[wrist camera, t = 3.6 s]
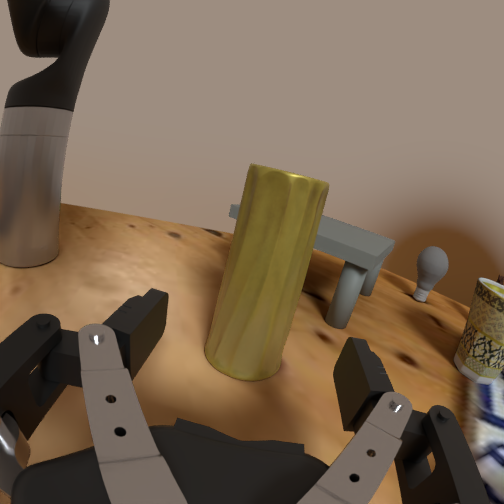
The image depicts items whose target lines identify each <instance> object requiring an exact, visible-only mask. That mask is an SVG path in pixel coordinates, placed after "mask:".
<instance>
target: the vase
mask: <svg viewBox="0 0 504 504" xmlns="http://www.w3.org/2000/svg"><path fill="white" fill-rule="evenodd" d="M328 190H329V183H327V182H324V181H320V180H317V179H314V178H310V177H306V176H302V175H299V174H295V173H291V172H287V171H282V170H278V169H274V168H270V167H266V166H261V165H256V164H250V166H249V170H248V174H247V178H246V182H245V187H244V191H243V196H242V200H241V204H240V208H239V212H238V217H237V221H236V226H235V231H234V234H233V239H232V243H231V247H230V251H229V255H228V259H227V263H226V267H225V271H224V275H223V279H222V283H221V287H220V291H219V295H218V299H217V303H216V308H215V312H214V316H213V320H212V325H211V330H210V334H209V337H208V339H207V342H206V345H205V355H206V357H207V359H208V361H209V362H210V363H211V365H212V366H213V367H214V368H216V369H217V370H218V371H220V372H222V373H223V374H225V375H228V376H230V377H232V378H235V379H239V380H245V381H258V380H263V379H266V378H268V377H270V376H272V375H274V374H275V373H276V372H277V371H278V369H279V368H280V364H281V358H282V352H283V349H284V345H285V343H286V340H287V337H288V334H289V331H290V328H291V324H292V320H293V317H294V313H295V310H296V307H297V304H298V300H299V297H300V294H301V291H302V287H303V284H304V280H305V277H306V273H307V270H308V266H309V262H310V259H311V255H312V251H313V247H314V244H315V240H316V236H317V232H318V228H319V224H320V220H321V216H322V213H323V209H324V205H325V201H326V197H327V194H328Z"/></svg>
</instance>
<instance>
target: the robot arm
mask: <svg viewBox="0 0 504 504" xmlns="http://www.w3.org/2000/svg"><path fill="white" fill-rule="evenodd" d="M7 1H8V6H9V11H10V17H11V22H12V26H13V31H14V35H15V38H16V41H17V44H18V46H19V49H20V50H21V52H22V53H23V54H24V55H26V56H29V57H36V58H38V57H39V58H41V57H43V58H44V57H55V58H58V59H57V60H56V61H55V62H54V63H53V64H52V65H50V66H49V67H47V68H46V69H44V70H43V71H41V72H39V73H37V74H35V75H33V76H31V77H28V78H26V79H24V80H21V81H19V82H17V83H15V84H14V85H13V86H12V87H11V88H10V90H9V92H8V95H7V99H6V103H5V109H4V113H3V118H2V123H1V128H0V263H2V264H4V265H8V266H12V267H32V266H37V265H41V264H44V263H47V262H49V261H51V260H53V259H54V258H55V257H56V256H57V255H58V252H59V249H58V244H59V213H60V198H61V186H62V176H63V168H64V161H65V154H66V147H67V141H68V135H69V130H70V125H71V120H72V115H73V111H74V107H75V103H76V99H77V95H78V92H79V88H80V85H81V82H82V78H83V75H84V72H85V69H86V66H87V63H88V61H89V58H90V56H91V53H92V51H93V48H94V46H95V44H96V42H97V39H98V37H99V35H100V32H101V30H102V28H103V26H104V23H105V20H106V17H107V14H108V11H109V5H110V4H109V3H110V0H7ZM168 298H169V296H168V293H166V292H163V291H160V290H156V289H153V288H151V289H150V290H149V291H148V292H147V293H146V294H145V295H144V296H143V297H142V296H139V295H138V296H135V297H132V298H130V299H128V300H127V301H126V302H125V303H124V304H123V305H122V306H120V307H119V308H118V310H116V311H115V312H114V313H113V314H112V315H111V316H110V317H109V318H108V319H107V320H106V321H105V322H104V323H103V324H89V325H86V326H84V327H83V328H81V329H80V331H79V332H74V331H69V330H64V329H61V325H60V321H59V319H58V318H57V317H55V316H53V315H51V314H38V315H35V316H33V317H31V318H30V319H29V320H27V321H26V322H25V323H24V324H23V325H21V326H20V327H19V328H18V329H17V330H15V331H14V332H13V333H12V334H11V335H9V336H8V337H7V338H6V339H5V340H4V341H3V342H1V343H0V491H1V492H2V493H4V494H5V495H6V496H7V497H9V498H10V499H11V504H368V503H369V501H370V500H371V498H372V497H373V495H374V493H375V492H376V490H377V488H378V487H379V485H380V483H381V482H382V480H383V478H384V476H385V475H386V473H387V471H388V469H389V467H390V466H391V464H392V462H393V460H394V461H395V466H396V471H397V476H398V481H399V486H400V492H401V497H402V503H403V504H490V501H489V498H488V495H487V492H486V489H485V487H484V484H483V481H482V478H481V476H480V473H479V470H478V468H477V465H476V463H475V460H474V458H473V455H472V453H471V451H470V448H469V446H468V444H467V441H466V439H465V437H464V435H463V433H462V430H461V428H460V426H459V424H458V422H457V420H456V418H455V416H454V414H453V413H452V412H451V411H450V410H449V409H448V408H446V407H444V406H440V405H435V406H432V407H431V408H430V410H429V411H428V412H427V414H426V413H423V412H419V411H416V410H412V404H411V402H410V401H409V400H408V399H407V398H406V397H405V396H403V395H402V394H399V393H397V392H395V391H394V389H393V387H392V384H391V382H390V380H389V377H388V375H387V374H386V371H385V368H383V367H384V366H383V364H382V362H381V360H380V358H379V357H378V356H377V355H376V354H375V353H374V352H371V350H370V348H369V346H368V344H367V341H366V340H364V339H359V338H353V337H349V338H348V339H347V341H346V343H345V345H344V347H343V349H342V352H341V354H340V356H339V358H338V360H337V362H336V364H335V367H334V372H333V378H334V383H335V388H336V393H337V397H338V403H339V408H340V413H341V418H342V424H343V429H344V431H353V432H354V433H355V435H354V436H353V438H352V439H351V440H350V442H349V443H348V444H347V446H346V447H345V448H344V449H343V451H342V452H341V453H340V454H339V456H338V457H337V458H336V459H335V460H334V462H333V463H332V464H331V465H330V466H328V465H327V464H325V463H324V462H322V461H321V460H319V459H317V458H315V457H313V456H311V455H308V454H306V453H304V444H298V443H289V442H282V441H275V440H268V441H240V440H237V439H235V438H232V437H230V436H228V435H225V434H223V433H221V432H219V431H217V430H215V429H212V428H210V427H208V426H204V425H200V424H197V423H193V422H190V421H187V420H183V419H180V418H177V420H176V423H175V425H174V426H170V425H157V426H149V427H148V425H147V423H146V420H145V417H144V415H143V412H142V409H141V407H140V404H139V401H138V398H137V395H136V393H135V390H134V387H133V384H132V380H133V379H134V377H135V376H136V374H137V373H138V371H139V370H140V368H141V367H142V365H143V364H144V362H145V361H146V359H147V358H148V356H149V355H150V353H151V352H152V350H153V349H154V347H155V346H156V344H157V343H158V341H159V340H160V338H161V337H162V335H163V333H164V330H165V326H166V317H167V307H168ZM36 366H37V367H36ZM35 367H36V368H35ZM34 368H35V369H34ZM33 369H34V370H33ZM32 370H33V372H32V373H31V371H32ZM30 373H31V374H30ZM67 385H72V386H77V387H82V388H83V392H84V399H85V405H86V410H87V415H88V421H89V425H90V430H91V435H92V439H93V443H94V446H93V447H90V448H87V449H84V450H81V451H78V452H75V453H71V454H68V455H65V456H61V457H58V458H55V459H51V460H47V461H43V462H40V463H36V464H33V465H30V466H28V467H27V464H28V460H29V457H30V446H29V443H28V442H27V441H28V440H29V438H30V437H31V435H32V434H33V432H34V431H35V429H36V428H37V426H38V425H39V423H40V422H41V421H42V419H43V418H44V416H45V415H46V414H47V412H48V411H49V409H50V408H51V407H52V405H53V404H54V402H55V401H56V400H57V398H58V397H59V396H60V394H61V393H62V392H63V390H64V389H65V388H66V386H67ZM431 452H433V455H434V458H435V462H436V465H435V469H434V471H433V472H432V473H431V469H430V466H429V463H428V459H427V456H428V455H429V454H430V453H431Z"/></svg>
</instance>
